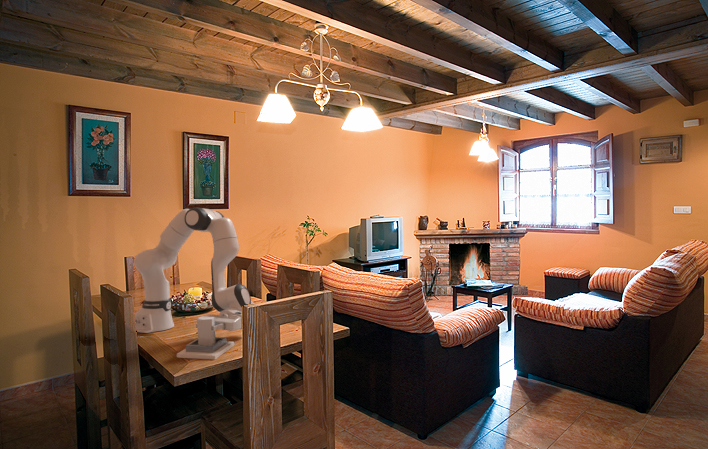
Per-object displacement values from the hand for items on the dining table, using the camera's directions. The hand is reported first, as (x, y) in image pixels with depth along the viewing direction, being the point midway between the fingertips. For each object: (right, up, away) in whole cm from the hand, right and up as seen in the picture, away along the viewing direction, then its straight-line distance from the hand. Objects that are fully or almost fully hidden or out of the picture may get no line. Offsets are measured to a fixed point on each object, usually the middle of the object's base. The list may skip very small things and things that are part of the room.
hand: (204, 327), depth 172 cm
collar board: (0, -10, +1) cm, 10 cm away
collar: (0, -8, +1) cm, 9 cm away
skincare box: (0, -9, +1) cm, 9 cm away
